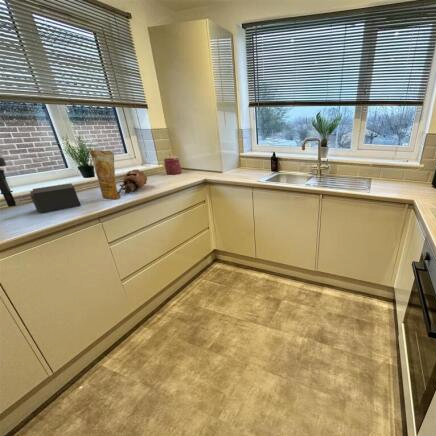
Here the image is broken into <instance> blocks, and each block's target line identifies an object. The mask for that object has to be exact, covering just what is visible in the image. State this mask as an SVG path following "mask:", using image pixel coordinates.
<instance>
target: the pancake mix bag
mask: <svg viewBox="0 0 436 436" xmlns="http://www.w3.org/2000/svg"><path fill="white" fill-rule="evenodd" d="M89 153H90V154H89V155H90V156H91V160H92V163H93V167H94V170H95V174H96V178H97V180H98V185H99V189H100V192H101V196H102V198H105V199H110V200H117V199H121V196H120V194H118V192H119V190H118V188H117V182H116V173H115V172H116V169H115V154H114V152H113V151H111V150H101V149H99V150H98V149H91V150H90V151H89Z"/></svg>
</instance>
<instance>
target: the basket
mask: <svg viewBox="0 0 436 436" xmlns="http://www.w3.org/2000/svg"><path fill="white" fill-rule="evenodd" d="M29 196H30V197H29V198H28V197H27V198H23V199H20V198H17V199H15V202H16V203H15V204H16V205H17V206H20V205H22V204H27V203H33V204H34V207H35V209H36V212H37V213H42V212H41V210H40V208H39V206H38V204H37V201H36V199H35V197H34V195H33V190H30V195H29Z"/></svg>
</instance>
